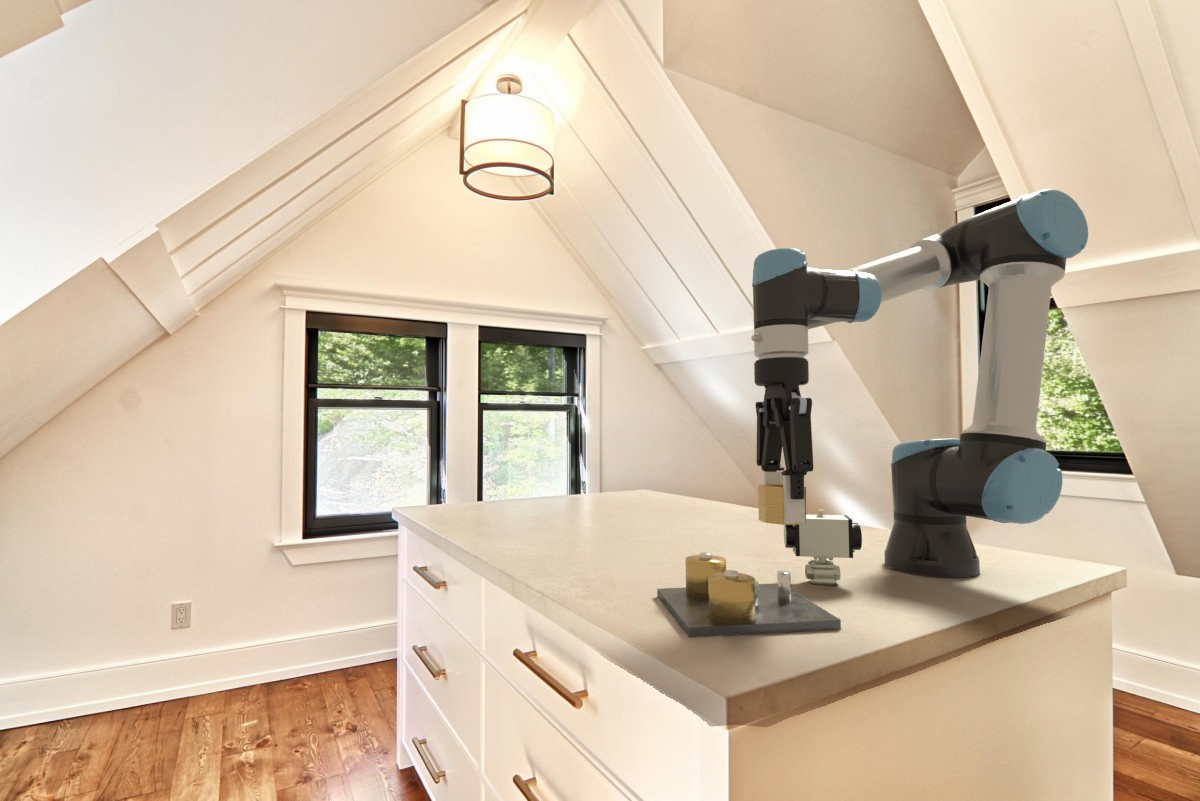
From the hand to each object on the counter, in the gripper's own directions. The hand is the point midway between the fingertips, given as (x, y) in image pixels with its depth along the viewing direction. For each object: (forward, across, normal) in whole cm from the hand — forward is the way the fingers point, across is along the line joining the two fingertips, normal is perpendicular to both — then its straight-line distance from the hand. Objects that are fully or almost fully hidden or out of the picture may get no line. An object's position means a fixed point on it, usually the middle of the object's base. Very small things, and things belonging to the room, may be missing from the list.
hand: (783, 518), depth 85 cm
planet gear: (0, 0, 0) cm, 0 cm away
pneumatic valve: (+13, -13, +13) cm, 22 cm away
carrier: (+13, 0, -6) cm, 14 cm away
